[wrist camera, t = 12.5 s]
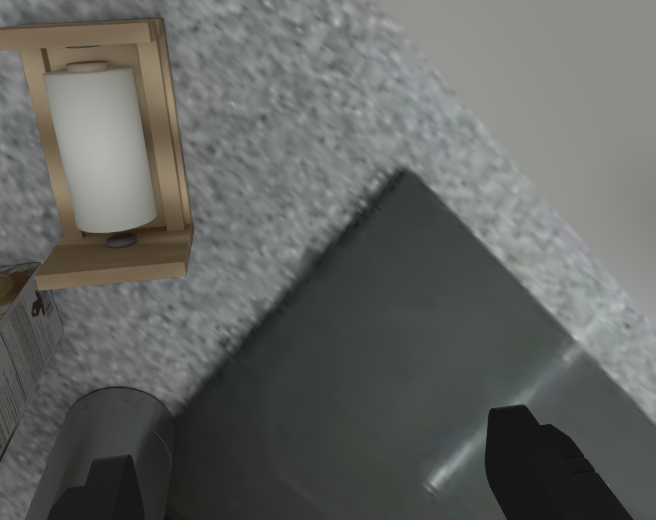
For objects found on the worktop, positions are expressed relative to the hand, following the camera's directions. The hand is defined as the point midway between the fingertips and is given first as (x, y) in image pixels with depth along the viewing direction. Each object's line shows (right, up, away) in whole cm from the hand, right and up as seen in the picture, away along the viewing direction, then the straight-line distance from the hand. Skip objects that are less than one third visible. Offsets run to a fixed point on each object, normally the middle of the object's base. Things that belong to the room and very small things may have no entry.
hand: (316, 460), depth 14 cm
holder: (-15, +13, +28) cm, 35 cm away
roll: (-14, +12, +25) cm, 31 cm away
